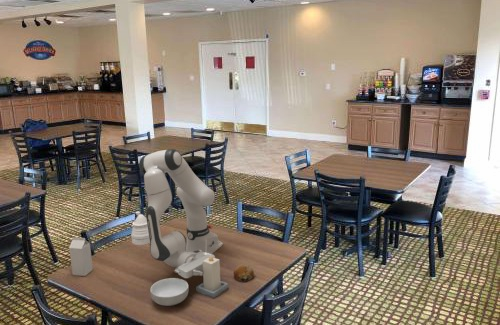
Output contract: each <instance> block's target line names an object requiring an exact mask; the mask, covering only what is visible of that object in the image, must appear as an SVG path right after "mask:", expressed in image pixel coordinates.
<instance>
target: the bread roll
mask: <svg viewBox="0 0 500 325" xmlns="http://www.w3.org/2000/svg"><path fill="white" fill-rule="evenodd" d="M254 273H255V272H254V269H253V268H252V267H251V266H249V265H247V264H239V265H238V266H237V267H236V268H234V271H233V278H234V280H235V281H237V282H240V283H242V282H243V283H244V282H245V281H246V282H248V280H249V281H251V280H252V279H253V278H254V276H255V274H254Z"/></svg>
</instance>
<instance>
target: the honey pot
mask: <svg viewBox="0 0 500 325" xmlns="http://www.w3.org/2000/svg"><path fill="white" fill-rule="evenodd" d="M134 213H135V215H136V218H135V220H134V221H132V230H131V232H130V233H131V234H130V235H131V236H130V237H131V243H132V245H136V246H144V245H145V244H146V245H149V244H150V238H149V232H148V225H147V218H146V216H145V215H144V214H142V213H141V212H140V211H138V210H137V211H135V212H134ZM148 243H149V244H148Z"/></svg>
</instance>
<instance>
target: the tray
mask: <svg viewBox="0 0 500 325" xmlns="http://www.w3.org/2000/svg"><path fill="white" fill-rule="evenodd" d="M220 281H221V280H220ZM195 289H196V292H197V293H199V294H201V295H204V296H206V297H209V298H211V299H216V298H217V297H218V296H219V295H221V294H222V293H224V292H226V291H227V290H228V289H229V283H227V282H225V281H221V287H220V288H218V289H217V290H215V291H214V292H212V291H210V290H207V289H204V281H203V282H201V283H200V284H199V285H197V286H196V288H195Z"/></svg>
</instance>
